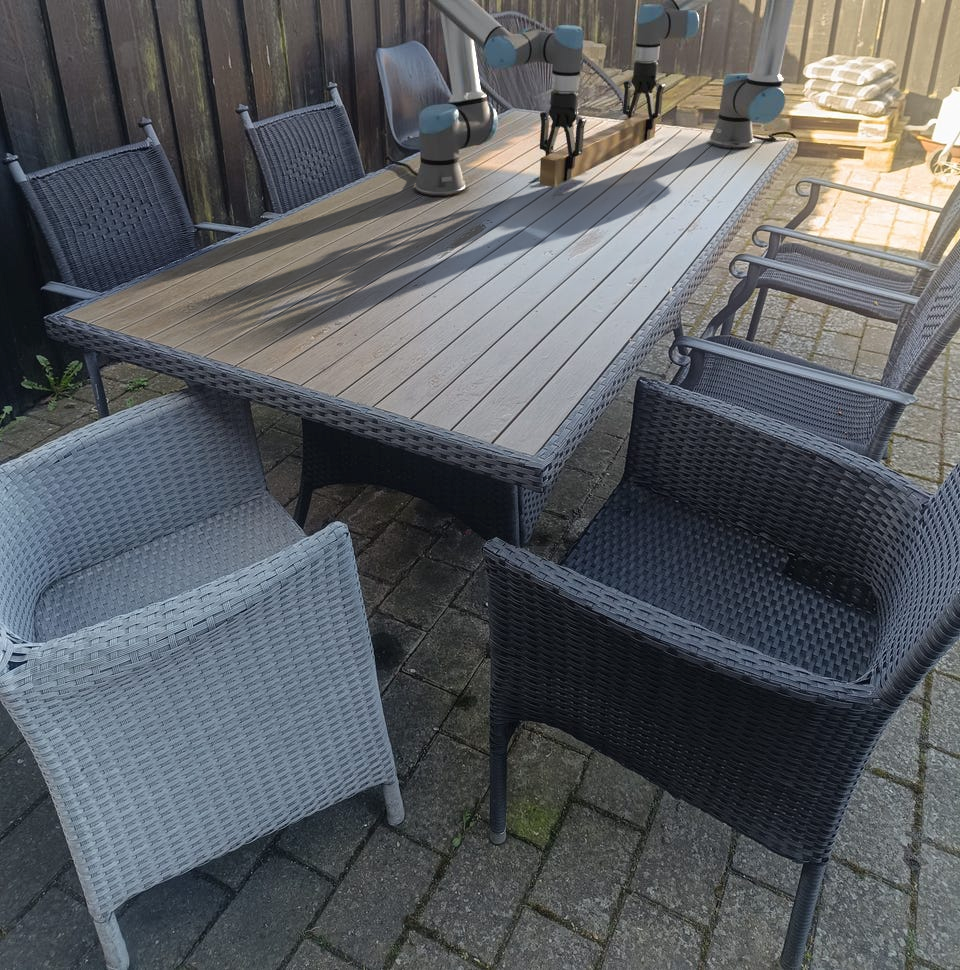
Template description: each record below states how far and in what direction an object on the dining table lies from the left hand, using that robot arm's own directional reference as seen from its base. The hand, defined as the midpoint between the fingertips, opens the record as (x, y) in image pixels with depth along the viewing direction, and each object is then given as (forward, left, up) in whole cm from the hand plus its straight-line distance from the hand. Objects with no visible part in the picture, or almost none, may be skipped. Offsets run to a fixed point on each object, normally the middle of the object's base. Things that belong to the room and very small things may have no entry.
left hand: (558, 177), depth 242 cm
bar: (-2, +27, -1) cm, 27 cm away
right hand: (-5, +54, 0) cm, 55 cm away
